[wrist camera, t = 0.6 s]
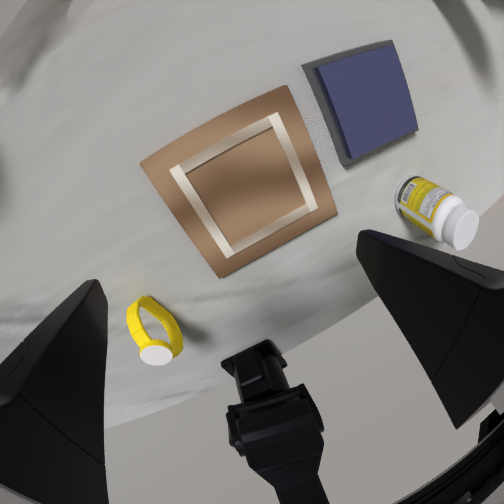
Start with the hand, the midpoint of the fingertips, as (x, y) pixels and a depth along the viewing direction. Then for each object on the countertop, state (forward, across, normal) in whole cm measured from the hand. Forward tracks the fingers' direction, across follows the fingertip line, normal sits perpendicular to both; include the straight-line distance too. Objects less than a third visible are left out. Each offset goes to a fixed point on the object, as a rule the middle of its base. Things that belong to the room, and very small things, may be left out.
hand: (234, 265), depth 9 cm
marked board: (+14, -3, +2) cm, 14 cm away
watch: (+14, +6, +12) cm, 20 cm away
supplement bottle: (+14, -21, +5) cm, 25 cm away
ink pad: (+14, -14, -5) cm, 20 cm away
